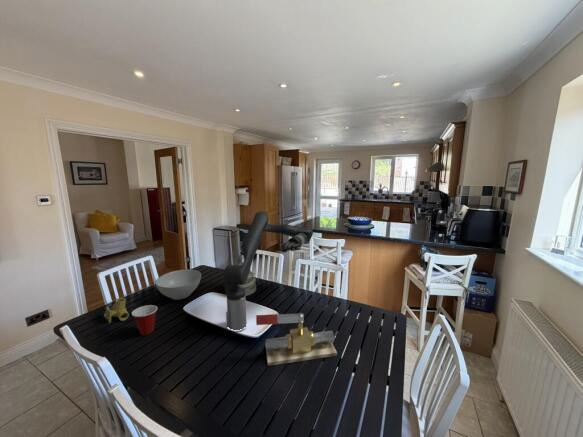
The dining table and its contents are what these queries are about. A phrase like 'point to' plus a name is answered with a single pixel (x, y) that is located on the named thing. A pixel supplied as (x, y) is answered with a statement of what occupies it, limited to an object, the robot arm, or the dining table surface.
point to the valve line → (299, 340)
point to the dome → (248, 281)
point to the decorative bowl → (178, 283)
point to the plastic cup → (145, 318)
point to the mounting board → (287, 356)
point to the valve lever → (279, 319)
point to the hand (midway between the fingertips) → (283, 250)
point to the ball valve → (117, 310)
